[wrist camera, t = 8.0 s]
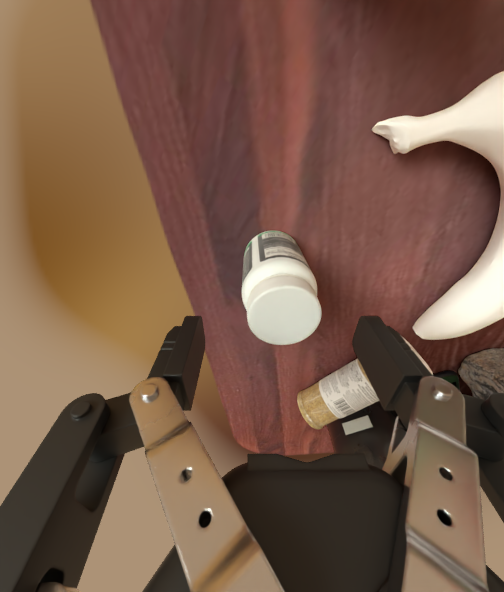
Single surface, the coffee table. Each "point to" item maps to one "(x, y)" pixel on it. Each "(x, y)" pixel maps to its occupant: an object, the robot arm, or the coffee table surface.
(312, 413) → the sprinkles bottle
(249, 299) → the pill bottle
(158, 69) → the coffee table surface
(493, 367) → the stone block
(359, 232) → the coffee table surface
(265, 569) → the robot arm
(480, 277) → the banana
